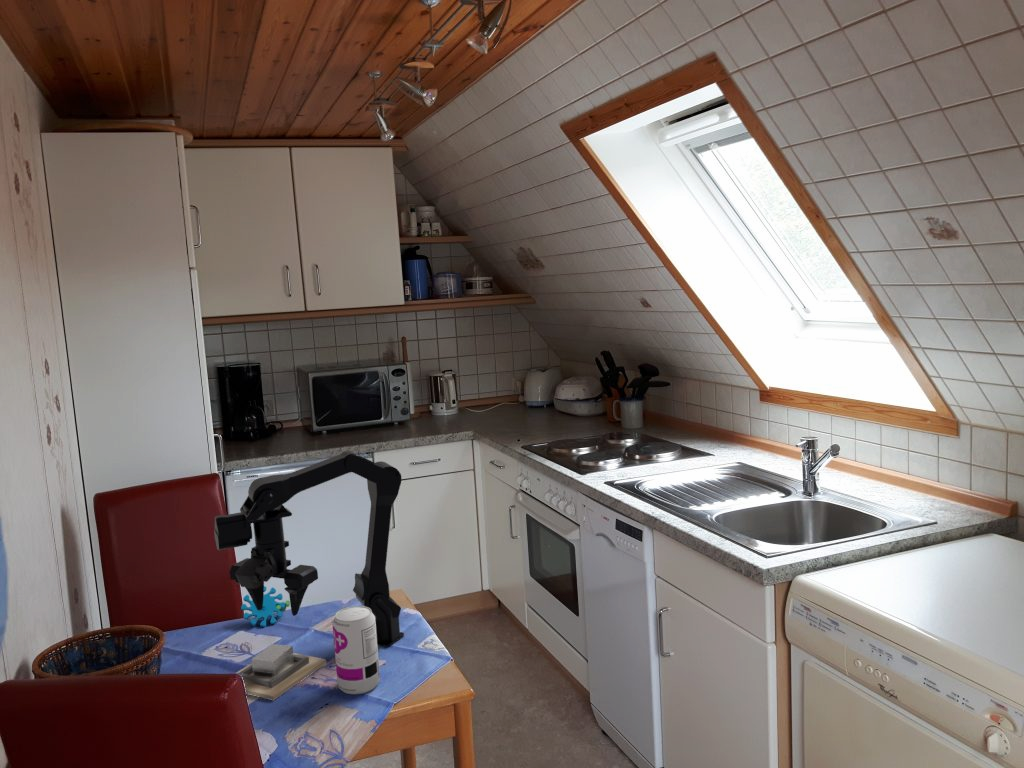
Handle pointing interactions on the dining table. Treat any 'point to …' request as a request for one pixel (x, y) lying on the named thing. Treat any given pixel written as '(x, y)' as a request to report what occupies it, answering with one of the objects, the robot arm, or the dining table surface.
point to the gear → (265, 608)
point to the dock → (280, 677)
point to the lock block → (272, 661)
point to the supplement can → (356, 650)
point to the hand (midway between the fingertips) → (277, 612)
